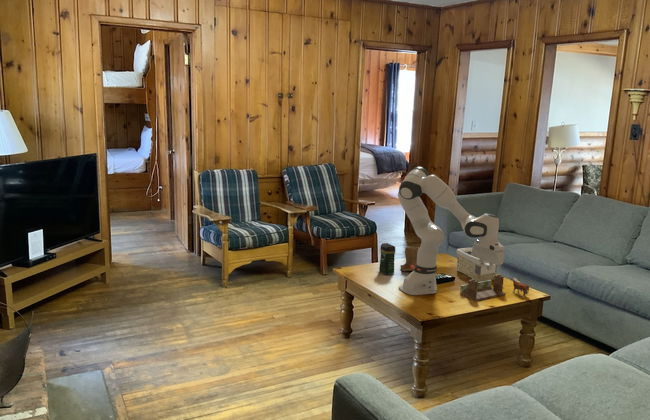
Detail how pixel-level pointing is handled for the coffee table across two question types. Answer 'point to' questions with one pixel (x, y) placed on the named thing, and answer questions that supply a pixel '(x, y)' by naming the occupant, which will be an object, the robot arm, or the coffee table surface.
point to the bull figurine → (520, 286)
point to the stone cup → (410, 258)
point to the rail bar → (484, 269)
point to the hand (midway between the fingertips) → (485, 268)
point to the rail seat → (483, 289)
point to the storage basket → (471, 265)
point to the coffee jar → (387, 259)
